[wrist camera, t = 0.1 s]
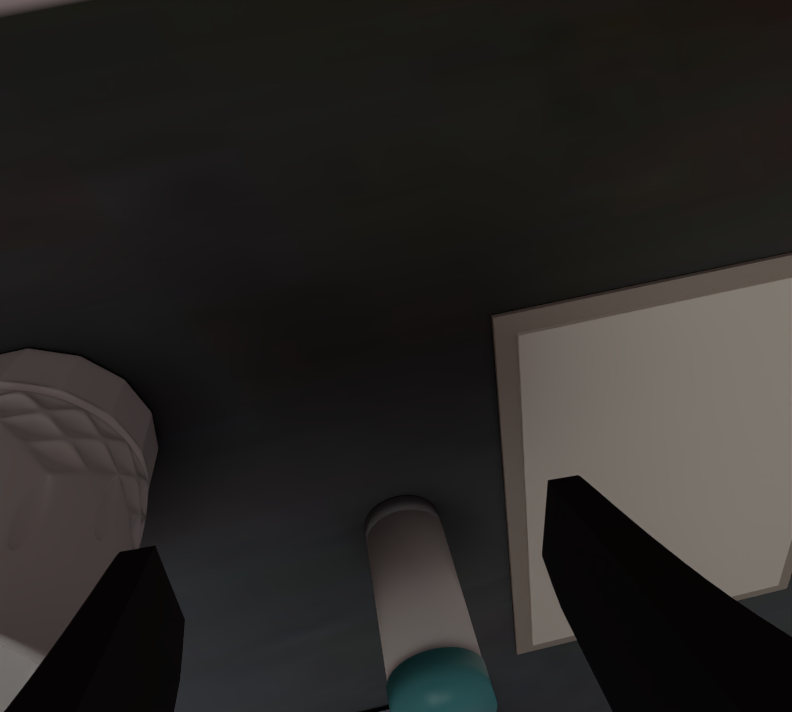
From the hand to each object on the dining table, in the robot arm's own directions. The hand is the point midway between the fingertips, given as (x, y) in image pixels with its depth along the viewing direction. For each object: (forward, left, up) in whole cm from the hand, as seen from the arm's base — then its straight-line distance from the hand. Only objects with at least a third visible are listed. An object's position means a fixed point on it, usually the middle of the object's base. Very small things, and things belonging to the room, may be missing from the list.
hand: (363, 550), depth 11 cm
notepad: (-11, -13, -10) cm, 20 cm away
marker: (-10, -1, -10) cm, 14 cm away
